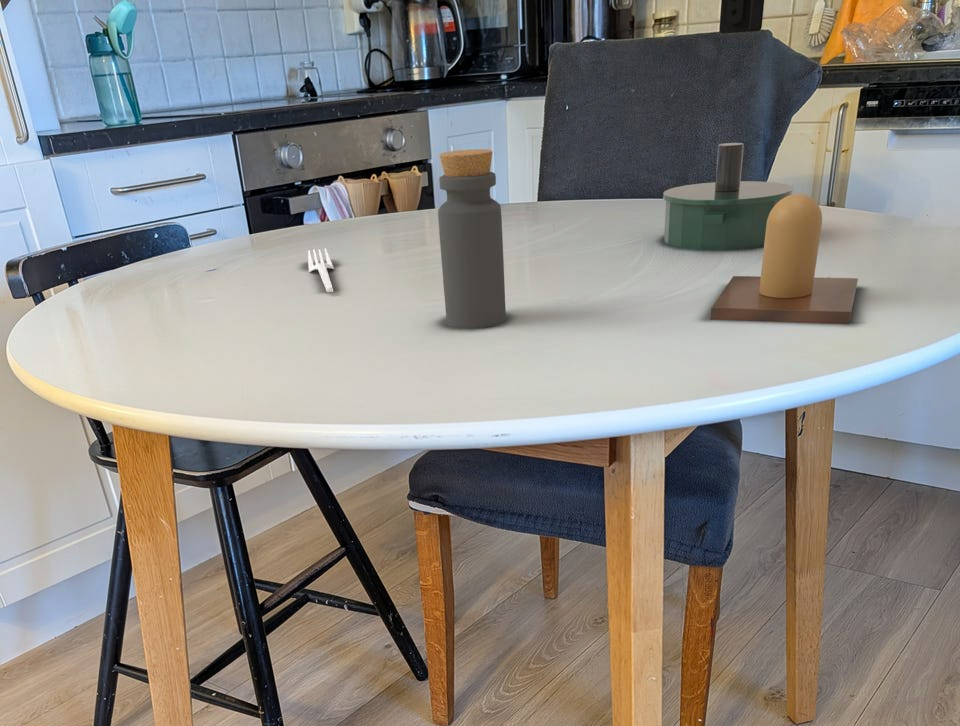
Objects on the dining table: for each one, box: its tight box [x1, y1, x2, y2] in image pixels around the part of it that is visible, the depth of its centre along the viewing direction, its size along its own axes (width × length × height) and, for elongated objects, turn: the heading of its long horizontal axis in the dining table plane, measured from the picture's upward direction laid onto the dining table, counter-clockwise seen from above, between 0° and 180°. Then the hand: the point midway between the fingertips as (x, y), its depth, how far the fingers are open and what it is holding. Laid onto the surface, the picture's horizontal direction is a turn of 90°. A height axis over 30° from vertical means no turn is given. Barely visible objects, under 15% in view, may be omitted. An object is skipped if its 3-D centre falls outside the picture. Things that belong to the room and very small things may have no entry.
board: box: [709, 275, 859, 325], centre depth 83 cm, size 12×13×2 cm
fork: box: [307, 248, 335, 293], centre depth 108 cm, size 3×20×2 cm, turn 13°
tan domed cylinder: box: [759, 193, 823, 298], centre depth 80 cm, size 5×5×8 cm
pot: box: [663, 199, 781, 251], centre depth 110 cm, size 15×20×6 cm
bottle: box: [437, 148, 507, 330], centre depth 82 cm, size 6×6×15 cm
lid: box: [662, 142, 794, 206], centre depth 107 cm, size 16×16×6 cm
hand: (741, 32), depth 99 cm, fingers open, 9 cm apart
